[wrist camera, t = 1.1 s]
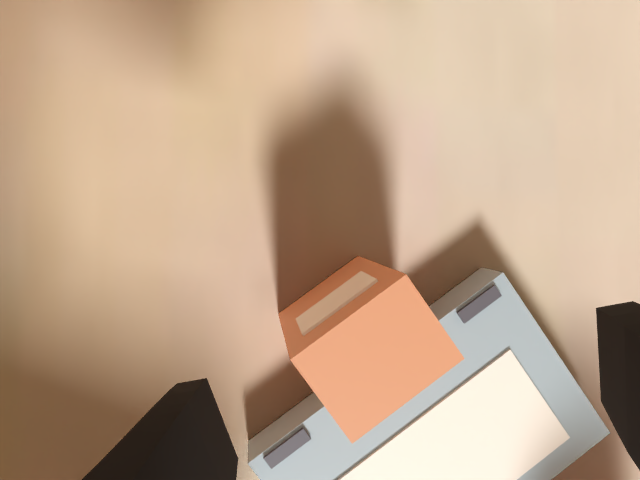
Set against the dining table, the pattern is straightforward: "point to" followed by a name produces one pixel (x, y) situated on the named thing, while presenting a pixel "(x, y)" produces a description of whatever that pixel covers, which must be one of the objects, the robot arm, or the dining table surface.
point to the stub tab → (366, 344)
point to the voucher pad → (454, 408)
